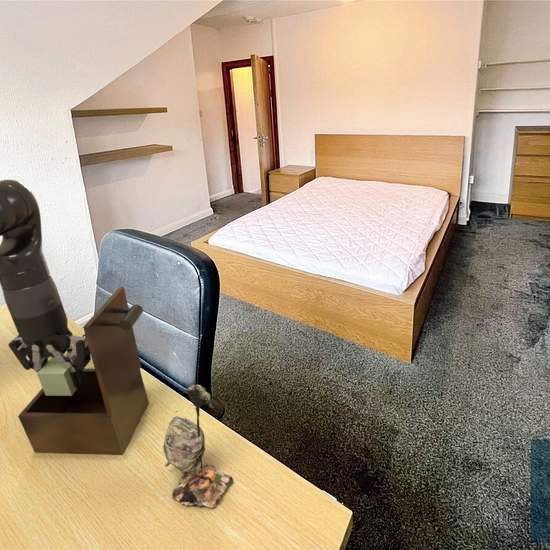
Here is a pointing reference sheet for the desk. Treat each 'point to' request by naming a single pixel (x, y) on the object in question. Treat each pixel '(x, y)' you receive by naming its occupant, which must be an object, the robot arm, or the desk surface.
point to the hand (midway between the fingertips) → (65, 384)
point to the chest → (84, 419)
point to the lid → (114, 347)
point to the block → (56, 379)
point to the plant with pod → (193, 457)
